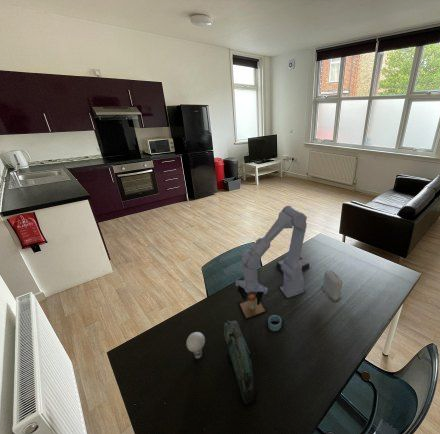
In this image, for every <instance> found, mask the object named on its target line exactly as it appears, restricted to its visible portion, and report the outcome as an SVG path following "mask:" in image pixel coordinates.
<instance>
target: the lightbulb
mask: <svg viewBox="0 0 440 434" xmlns="http://www.w3.org/2000/svg"><path fill="white" fill-rule="evenodd" d="M205 345H206V337H205V335H204V334H203V333H202V332H200V331H195V332H191V333H190V334H189V335H188V336H187V339H186V341H185V346H186V349H187V350H188V351H189V352H191V353H193V355H194V358H195V359H197V360H198V359H200V358H202V357H203V348H204V347H205Z"/></svg>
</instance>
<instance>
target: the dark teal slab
mask: <svg viewBox="0 0 440 434" xmlns="http://www.w3.org/2000/svg"><path fill="white" fill-rule="evenodd" d="M223 336H224V339H225V343H226V344H227V347H228V348H227V349H228V355H229V359H230V362H231V363H232V366H233V370H234V373H235V376H236V379H237V384H238V387H239V390H240V395H241V399H242V402H243V403H244V405H248V404H249V403H251V402H254V398H255V380H254V373H253V372H254V371H253V362H252V356H251V355H252V354H251V352H250V349H249V347H248V344H247V342H246V340H245V337H244V335H243V333H242V330H241V327H240V324H239V322H238V321H237V320H228V319H226V322H224V324H223Z"/></svg>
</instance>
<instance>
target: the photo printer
mask: <svg viewBox="0 0 440 434" xmlns="http://www.w3.org/2000/svg"><path fill="white" fill-rule="evenodd" d="M342 287H343V280H342V278H341V277H340V276H339V274H338V273H337V272H336V271H335V270H333V269H332V268H326V269H325V271H324V274H323V282H322V288H323V290H324V291H325V293H326V294H327V295H328V296H329V297H330V298H331V299H332V300H333V301H338V300H339V298H340V297H341V291H342Z"/></svg>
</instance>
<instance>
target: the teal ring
mask: <svg viewBox="0 0 440 434" xmlns="http://www.w3.org/2000/svg"><path fill="white" fill-rule="evenodd" d="M272 322H277V323H278V324H273V323H272ZM282 323H283V321H282V318H281V316H280V315H278V314H271V316H269V317H268V319H267V327H268V329H269V330H270V331H273V332H278V331H279V330H280V329H281V328H282Z"/></svg>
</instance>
